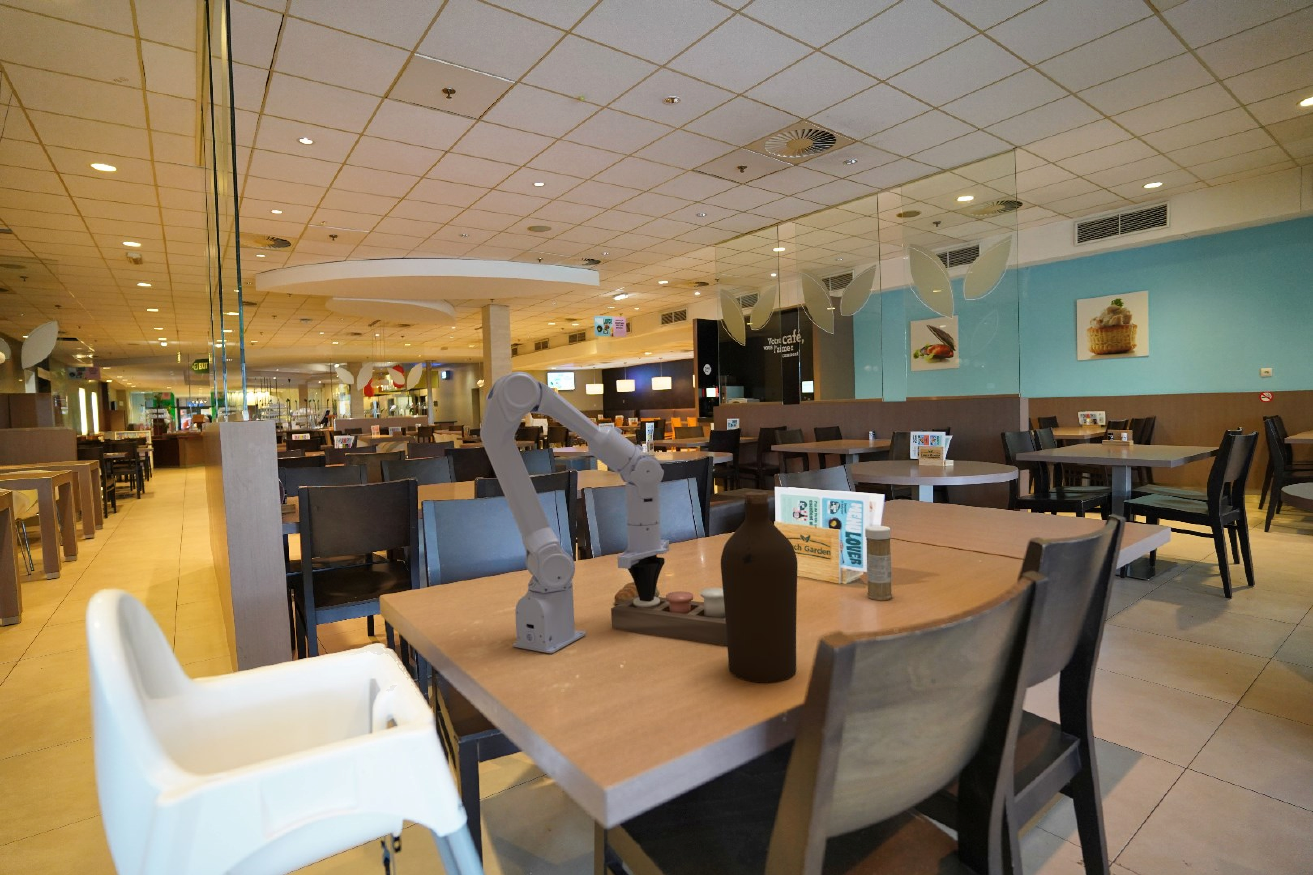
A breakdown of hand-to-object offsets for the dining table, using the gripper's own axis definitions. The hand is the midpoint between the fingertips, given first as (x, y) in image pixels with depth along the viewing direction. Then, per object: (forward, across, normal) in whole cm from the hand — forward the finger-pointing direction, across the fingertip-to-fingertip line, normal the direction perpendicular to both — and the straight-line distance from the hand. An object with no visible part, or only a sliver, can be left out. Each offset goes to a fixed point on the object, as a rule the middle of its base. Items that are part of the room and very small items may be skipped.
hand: (646, 600), depth 114 cm
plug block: (+4, 0, -6) cm, 8 cm away
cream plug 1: (+4, 0, 0) cm, 4 cm away
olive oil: (+4, -11, -25) cm, 28 cm away
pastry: (+5, +12, +9) cm, 16 cm away
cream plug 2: (+1, 0, -13) cm, 13 cm away
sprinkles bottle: (+4, +30, -34) cm, 45 cm away
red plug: (+2, 0, -7) cm, 7 cm away
